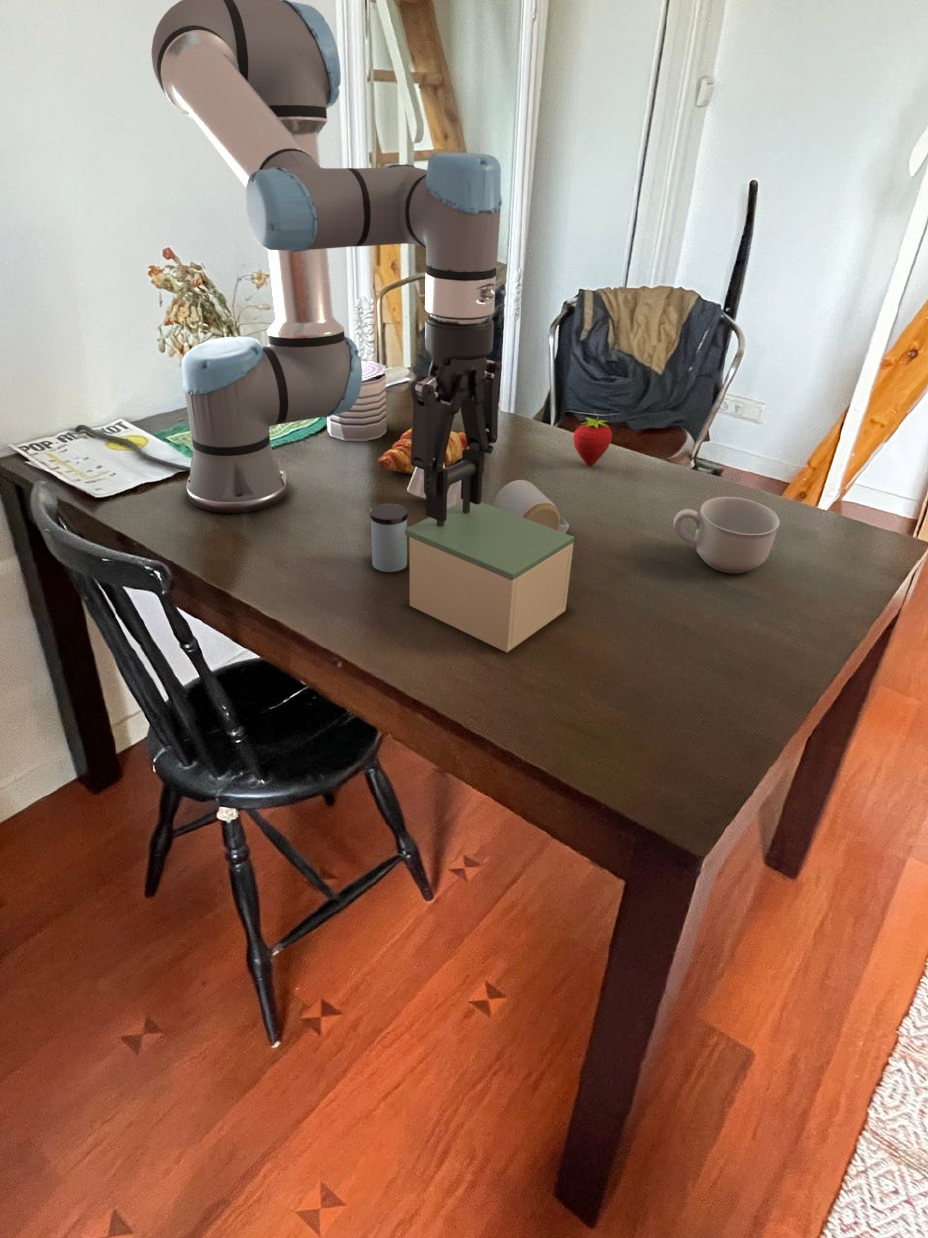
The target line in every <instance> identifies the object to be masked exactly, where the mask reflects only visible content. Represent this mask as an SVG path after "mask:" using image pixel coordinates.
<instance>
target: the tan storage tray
mask: <svg viewBox="0 0 928 1238" xmlns="http://www.w3.org/2000/svg"><path fill="white" fill-rule="evenodd" d="M573 551H574V542H573V543H572V544H570V545H569V546H567V547H565V548H564V549H562V550H561V551H559V552H557V553H556V554H554V555H553V556H551V557H549V558H548V559H546V560H545V561H543V562H541V563H540V564H538V565H537V566H535V567H533V568H532V569H530V570H529V571H527V572H525V573H524V574H522V575H521V576H519V577H517V578H516V579H514V580H510V579H508V578H505V577H503V576H501V575H498V574H496V573H494V572H491V571H489V570H487V569H484V568H482V567H480V566H477V565H475V564H473V563H470V562H468V561H466V560H463V559H461V558H458V557H456V556H454V555H451V554H449V553H447V552H444V551H442V550H440V549H437V548H435V547H433V546H430V545H428V544H426V543H423V542H421V541H418V540H416V539H414V538H411V537H409V606H410V607H412V608H413V609H416V610H418V611H420V612H422V613H424V614H426V615H427V616H430V617H432V618H434V619H436V620H439V621H440V622H442V623H445V624H446V625H449V626H451V627H452V628H455V629H457V630H458V631H461V632H463V633H466V634H467V635H470V636H471V637H473V638H476V639H478V640H480V641H482V642H483V643H486V644H488V645H490V646H492V647H495V649H499V650H500V651H502V652H505V653H508V652H510V651H511V650H513V649H514V648H516V647H518V645H519V644H521V643H523V642H524V641H525V640H527V639H528V638H529V637H531V636H532V635H534V634H535V633H536V632H538V631H539V630H540V629H541V630H542V629H543V627H545V626H547V625H548V624H549V623H550V622H552V621H553V620H554V619H556V618H557V617H559V616H560V615H561V614H563V613H564V612H566V609H567V600H568V594H569V585H570V584H569V583H570V577H571V567H572V561H573V560H572V559H573Z"/></svg>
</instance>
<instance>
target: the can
mask: <svg viewBox="0 0 928 1238" xmlns="http://www.w3.org/2000/svg"><path fill="white" fill-rule="evenodd" d="M361 364H362V384H361V390H360V394H359V396H358V399H357V401H356V402H355V404H354V405H353V407H352V408H351V409H350V410H348V411H346V412H344V413H339V414H335V415H332V416H330V417H327V418H326V429H327V432H328V433H329V436H330V438H331V437H332V438H334V439H338V440H340V441H344V442H367V441H371V440H377V439H380V438H382V437H383V435H385V434H386V433H387V390H386V389H387V383H386V382H387V380H386V377H387V376H386V373H385V370H386V368H387V365H385V364H382V363H379V362H376V361H373V360H364V361H362V360H361Z"/></svg>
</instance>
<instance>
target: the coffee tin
mask: <svg viewBox="0 0 928 1238" xmlns="http://www.w3.org/2000/svg"><path fill="white" fill-rule="evenodd" d="M408 513H409V511H408V508H406V507H405V506H403V505H402V504H399V503H392V502H391V503H390V502H389V503H379V504H376V505H374V506H373V507H372V508H370V511H369V518H370V530H371V531H370V532H371V562H372V563H371V564H372V567H373V568H374V569H376V570H377V571H380V572H385V573H394V572H399V571H401V570H404V569H405V568H406V567H407V565H408V536H407V535H405V529H406V528H408V518H409V517H408V516H409V515H408Z"/></svg>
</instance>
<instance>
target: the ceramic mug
mask: <svg viewBox="0 0 928 1238" xmlns="http://www.w3.org/2000/svg"><path fill="white" fill-rule="evenodd" d="M493 507H496V508H498V509H501V510H504V511H506V512H509V513H512V514H514V515H517V516H520V517H522V518H525V519H528V520H530V521H533V522H536V523H538V524H541V525H544V526H546V527H549V528H552V529H554V530H557V531H560V532H562V533H565V534H567V532H568V530H569V528H570V524H569V523H568V522H567V521H566V520H565V519H564V518H562V517H561V516H560V511H559V510H558V508H557V506H556V505H555V504H554V503H553V501H552V500H551V499H549V498H548V497H547V496H546V495H545V494H544V493H542V492H541V490H540V489H538V487H536V486H535V485H534V484H533V483H532V482H530V481H529V480H525V479H517V480H513V481H510V482H508V483H506V484H505V485H504V486H503V487H501V489H500V490H499V491H498V493H497V494H496V496H495V499H494V502H493Z"/></svg>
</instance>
